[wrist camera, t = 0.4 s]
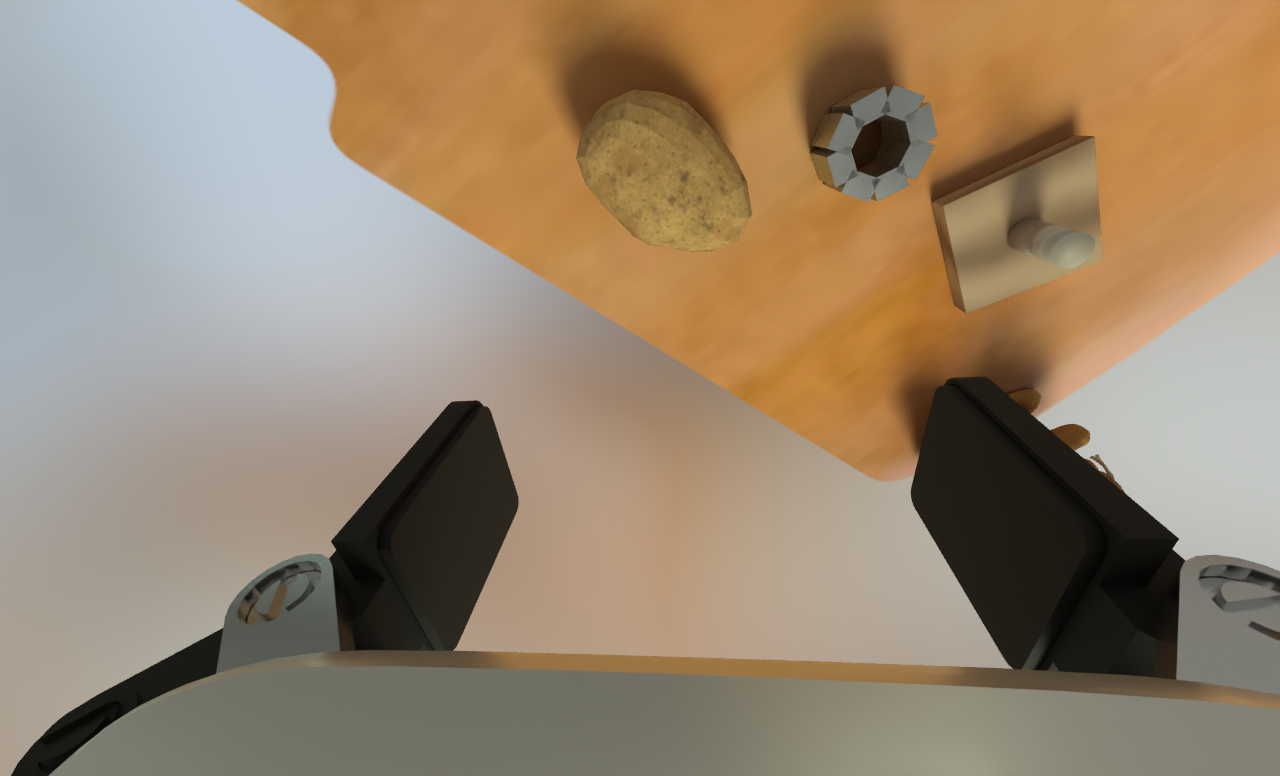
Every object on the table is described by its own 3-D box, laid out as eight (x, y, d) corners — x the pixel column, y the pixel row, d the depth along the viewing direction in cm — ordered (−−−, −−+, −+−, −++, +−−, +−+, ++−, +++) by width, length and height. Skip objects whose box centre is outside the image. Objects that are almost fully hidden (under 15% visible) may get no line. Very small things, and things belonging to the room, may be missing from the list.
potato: (704, 268, 42) (707, 297, 35) (570, 179, 39) (545, 192, 32) (774, 169, 37) (793, 181, 30) (628, 60, 34) (613, 45, 27)
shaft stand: (931, 202, 37) (981, 219, 31) (1074, 135, 34) (1163, 139, 28) (954, 305, 41) (1003, 339, 35) (1084, 254, 38) (1164, 282, 32)
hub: (800, 123, 35) (816, 124, 31) (892, 72, 33) (922, 65, 29) (827, 205, 38) (845, 216, 34) (913, 162, 36) (943, 169, 32)
